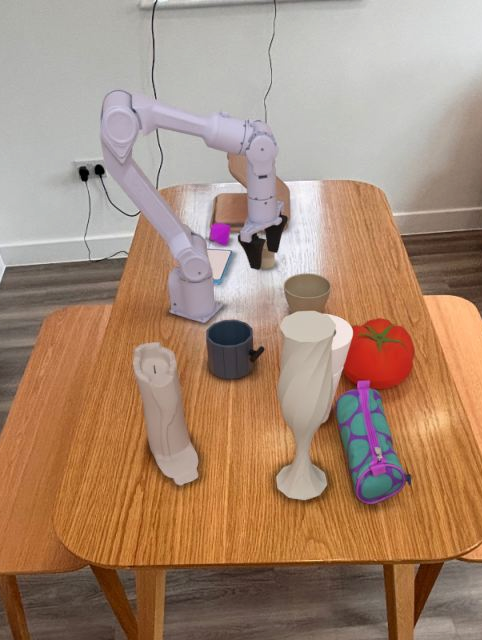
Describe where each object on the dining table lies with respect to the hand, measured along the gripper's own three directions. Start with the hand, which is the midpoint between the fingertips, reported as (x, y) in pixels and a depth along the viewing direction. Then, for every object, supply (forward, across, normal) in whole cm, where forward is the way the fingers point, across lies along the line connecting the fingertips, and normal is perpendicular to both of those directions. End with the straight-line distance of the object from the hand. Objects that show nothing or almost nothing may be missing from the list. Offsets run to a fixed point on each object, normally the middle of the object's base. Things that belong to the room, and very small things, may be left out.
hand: (264, 259), depth 135 cm
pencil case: (+11, -36, -40) cm, 54 cm away
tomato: (+11, -13, -31) cm, 35 cm away
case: (+11, +36, +24) cm, 45 cm away
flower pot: (+11, 0, -10) cm, 15 cm away
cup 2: (+11, -29, -26) cm, 40 cm away
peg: (+10, +15, +8) cm, 20 cm away
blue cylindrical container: (+10, -23, -6) cm, 26 cm away
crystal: (+10, +20, +24) cm, 33 cm away
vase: (+11, -45, -32) cm, 56 cm away
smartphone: (+10, +8, +19) cm, 23 cm away
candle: (+10, -50, -10) cm, 52 cm away
